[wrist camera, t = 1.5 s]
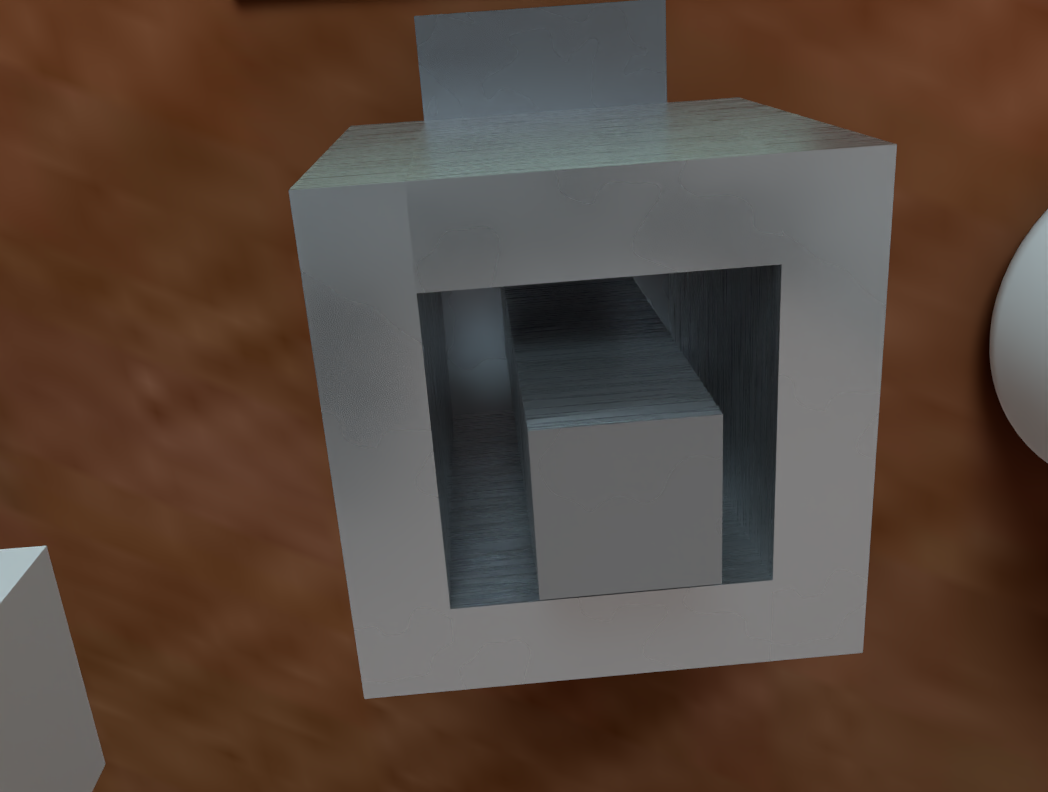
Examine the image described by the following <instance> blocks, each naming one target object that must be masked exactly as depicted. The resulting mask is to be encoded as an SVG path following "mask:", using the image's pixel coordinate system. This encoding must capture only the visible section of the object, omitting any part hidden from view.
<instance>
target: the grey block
mask: <svg viewBox="0 0 1048 792" xmlns="http://www.w3.org/2000/svg"><path fill="white" fill-rule="evenodd" d="M414 20H415V30H416V41H417V51H418V61H419V71H420V81H421V92H422V102H423V112H424V121H426V120H440V119H453V118H467V117H481V116H494V115H508V114H521V113H535V112H549V111H562V110H576V109H589V108H603V107H617V106H630V105H644V104H657V103H667V82H666V8H665V0H639V1H624V2H610V3H596V4H582V5H567V6H553V7H539V8H524V9H510V10H496V11H482V12H467V13H453V14H439V15H425V16H414ZM441 296H442V306H443V316H444V326H445V336H446V347H447V357H448V367H449V377H450V387H451V397H452V408H453V415H454V414H466V413H478V412H490V411H502V410H514V418H515V425H516V432H517V439H518V447H519V454H520V461H521V468H522V476H523V483H524V490H525V497H526V505H527V512H528V519H529V526H530V534H531V541H532V548H533V555H534V563H535V570H536V577H537V584H538V591H539V599H540V600H546V599H557V598H568V597H579V596H591V595H602V594H613V593H624V592H635V591H646V590H657V589H668V588H680V587H691V586H702V585H713V584H722V490H723V414H722V412H721V411H720V409H719V408H718V406H717V405H716V403H715V402H714V400H713V399H712V397H711V396H710V394H709V393H708V391H707V390H706V388H705V387H704V385H703V383H702V382H701V380H700V379H699V377H698V376H697V374H696V373H695V371H694V370H693V368H692V367H691V365H690V364H689V362H688V361H687V359H686V358H685V356H684V355H683V353H682V352H681V350H680V349H679V347H678V346H677V344H676V343H675V341H674V340H673V338H672V337H671V335H670V303H669V273H667V274H654V275H642V276H629V277H616V278H604V279H591V280H579V281H566V282H553V283H541V284H528V285H516V286H503V287H490V288H478V289H465V290H452V291H441Z"/></svg>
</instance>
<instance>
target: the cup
mask: <svg viewBox="0 0 1048 792" xmlns="http://www.w3.org/2000/svg"><path fill="white" fill-rule="evenodd" d="M989 354H990V367H991V373H992V379H993V383H994V386H995V390H996V393H997V396H998V399H999V401H1000V404H1001V406H1002V409H1003V411H1004V413H1005V415H1006V417H1007V418H1008V420H1009V422H1010V423H1011V425H1012V427H1013V428H1014V430H1015V431H1016V433H1017V434H1018V435H1019V436H1020V437H1021V439H1022V440H1023V441H1024V442H1025V443H1026V445H1027V446H1028V447H1029V448H1030V449H1031V450H1032V451H1033V452H1034V453H1035V454H1036V455H1038V456H1039V457H1040V458H1041V459H1043V460H1044V461H1045V462H1046V463H1048V209H1047V210H1046V212H1045V213H1044V214H1043V215H1042V216H1041V217H1040V218H1039V220H1038V221H1037V222H1036V223H1035V224H1034V226H1033V227H1032V228H1031V230H1030V231H1029V233H1028V234H1027V235H1026V237H1025V238H1024V240H1023V241H1022V242H1021V244H1020V246H1019V248H1018V249H1017V251H1016V253H1015V255H1014V256H1013V258H1012V260H1011V262H1010V264H1009V266H1008V268H1007V270H1006V273H1005V275H1004V277H1003V279H1002V282H1001V285H1000V288H999V291H998V294H997V297H996V301H995V305H994V309H993V314H992V320H991V328H990V350H989Z"/></svg>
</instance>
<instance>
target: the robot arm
mask: <svg viewBox="0 0 1048 792" xmlns="http://www.w3.org/2000/svg"><path fill="white" fill-rule="evenodd" d="M104 766H105V761H104V757H103V753H102V750H101V746H100V742H99V739H98V735H97V731H96V727H95V724H94V720H93V716H92V713H91V709H90V705H89V702H88V698H87V694H86V690H85V687H84V683H83V679H82V676H81V672H80V668H79V664H78V661H77V657H76V653H75V650H74V646H73V642H72V639H71V635H70V631H69V627H68V624H67V620H66V616H65V613H64V609H63V605H62V601H61V598H60V594H59V590H58V587H57V583H56V579H55V576H54V572H53V568H52V564H51V561H50V557H49V553H48V550H47V546H38V547H25V548H13V549H0V792H92V791H93V789H94V786H95V784H96V782H97V780H98V778H99V776H100V774H101V772H102V770H103V768H104Z"/></svg>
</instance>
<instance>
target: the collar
mask: <svg viewBox="0 0 1048 792" xmlns="http://www.w3.org/2000/svg"><path fill="white" fill-rule="evenodd" d="M896 149H897V144H894V143H890V142H887V141H884V140H880V139H877V138H874V137H870V136H867V135H863V134H860V133H857V132H853V131H850V130H847V129H843V128H840V127H836V126H833V125H830V124H826V123H823V122H820V121H816V120H813V119H810V118H806V117H803V116H799V115H796V114H793V113H789V112H786V111H783V110H779V109H776V108H772V107H769V106H766V105H762V104H759V103H756V102H752V101H749V100H745V99H742V98H725V99H712V100H698V101H685V102H671V103H657V104H644V105H630V106H617V107H603V108H589V109H576V110H562V111H549V112H535V113H521V114H508V115H494V116H481V117H467V118H453V119H440V120H426V121H413V122H399V123H385V124H372V125H358V126H350V127H349V128H348V129H347V131H346V132H345V133H344V134H343V135H342V136H341V137H340V138H339V139H338V140H337V141H336V142H335V143H334V144H333V145H332V146H331V147H330V148H329V149H328V150H327V151H326V152H325V153H324V154H323V155H322V156H321V157H320V158H319V159H318V160H317V162H316V163H315V164H314V165H313V166H312V167H311V168H310V169H309V170H308V171H307V172H306V173H305V174H304V175H303V176H302V177H301V178H300V179H299V180H298V181H297V182H296V183H295V184H294V185H293V186H292V187H291V188H290V189H289V196H290V203H291V210H292V216H293V223H294V230H295V236H296V243H297V250H298V257H299V263H300V270H301V277H302V283H303V290H304V297H305V304H306V310H307V317H308V324H309V330H310V337H311V344H312V351H313V357H314V364H315V371H316V377H317V384H318V391H319V398H320V404H321V411H322V418H323V424H324V431H325V438H326V445H327V451H328V458H329V465H330V471H331V478H332V485H333V491H334V498H335V505H336V512H337V518H338V525H339V532H340V538H341V545H342V552H343V559H344V565H345V572H346V579H347V585H348V592H349V599H350V606H351V612H352V619H353V626H354V632H355V639H356V646H357V653H358V659H359V666H360V673H361V679H362V686H363V693H364V699H368V698H378V697H389V696H400V695H411V694H422V693H432V692H443V691H454V690H465V689H476V688H486V687H497V686H508V685H519V684H530V683H540V682H551V681H562V680H573V679H584V678H594V677H605V676H616V675H627V674H638V673H648V672H659V671H670V670H681V669H691V668H702V667H713V666H724V665H735V664H745V663H756V662H767V661H778V660H789V659H799V658H810V657H821V656H832V655H843V654H853V653H863V641H864V626H865V611H866V596H867V581H868V566H869V551H870V537H871V522H872V507H873V492H874V477H875V462H876V447H877V432H878V417H879V402H880V387H881V373H882V358H883V343H884V328H885V313H886V298H887V283H888V268H889V253H890V238H891V224H892V209H893V194H894V179H895V164H896ZM667 273H669V303H670V335H671V337H672V338H673V340H674V341H675V343H676V344H677V346H678V347H679V349H680V350H681V352H682V353H683V355H684V356H685V358H686V359H687V361H688V362H689V364H690V365H691V367H692V368H693V370H694V371H695V373H696V374H697V376H698V377H699V379H700V380H701V382H702V383H703V385H704V387H705V388H706V390H707V391H708V393H709V394H710V396H711V397H712V399H713V400H714V402H715V403H716V405H717V406H718V408H719V409H720V411H721V412H722V414H723V490H722V584H713V585H702V586H691V587H680V588H668V589H657V590H646V591H635V592H624V593H613V594H602V595H591V596H579V597H568V598H557V599H546V600H540V599H539V591H538V584H537V577H536V570H535V563H534V555H533V548H532V541H531V534H530V526H529V519H528V512H527V505H526V497H525V490H524V483H523V476H522V468H521V461H520V454H519V447H518V439H517V432H516V425H515V418H514V410H502V411H490V412H478V413H466V414H454V415H453V408H452V397H451V387H450V377H449V367H448V357H447V347H446V336H445V326H444V316H443V306H442V296H441V291H452V290H465V289H478V288H490V287H503V286H516V285H528V284H541V283H553V282H566V281H579V280H591V279H604V278H616V277H629V276H642V275H654V274H667Z"/></svg>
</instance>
